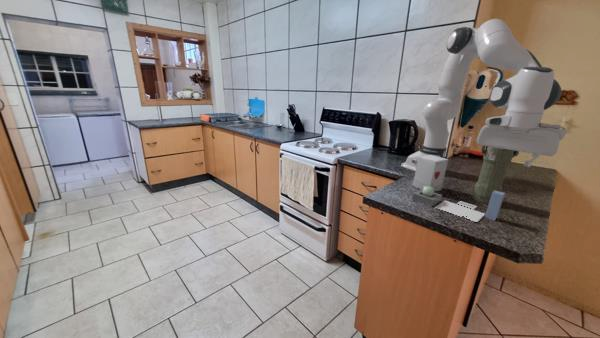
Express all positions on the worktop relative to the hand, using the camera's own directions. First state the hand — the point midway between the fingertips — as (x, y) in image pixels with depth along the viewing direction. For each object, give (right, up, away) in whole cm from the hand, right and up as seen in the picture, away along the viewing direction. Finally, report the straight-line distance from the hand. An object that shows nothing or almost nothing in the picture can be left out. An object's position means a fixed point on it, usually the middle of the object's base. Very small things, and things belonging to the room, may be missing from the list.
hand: (508, 162), depth 81 cm
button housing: (-18, -15, +19) cm, 30 cm away
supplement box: (-11, -11, +32) cm, 36 cm away
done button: (-18, -13, +18) cm, 29 cm away
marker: (-1, -20, +7) cm, 21 cm away
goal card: (-3, -17, +16) cm, 23 cm away
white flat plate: (-9, -18, +11) cm, 23 cm away
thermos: (+8, -15, +21) cm, 27 cm away
